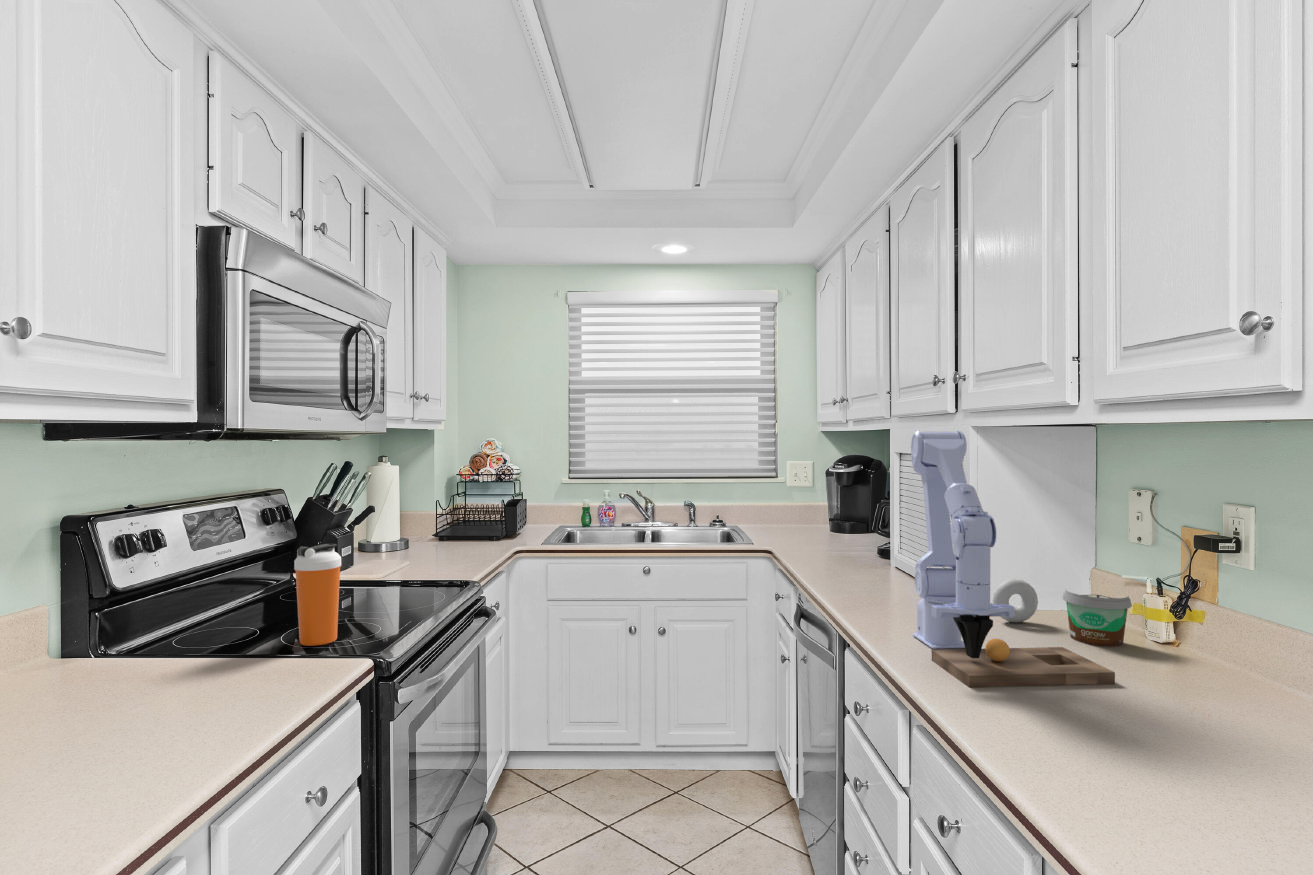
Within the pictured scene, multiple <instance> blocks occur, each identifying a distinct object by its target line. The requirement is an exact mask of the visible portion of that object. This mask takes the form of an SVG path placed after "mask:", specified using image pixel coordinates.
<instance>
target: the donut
mask: <svg viewBox="0 0 1313 875" xmlns="http://www.w3.org/2000/svg"><path fill="white" fill-rule="evenodd" d="M1014 595H1018V596H1019V597H1020V598H1021V601H1020V603H1019V605H1018V606H1017V607H1015V617H1007V616H999V617H1000V618H1001V619H1003V620H1005V622H1010V623H1015V624H1016V623H1017V624H1018V623H1023V622H1025V621H1027V620H1029V619H1031V617H1032V616H1034V615H1035V613H1036V611H1037V609H1038V605H1039V604H1038V603H1039V599H1038V594H1037V591H1036V589H1035V588H1034V587H1032V585H1031V584H1030V583H1028V582H1026V581H1024V580H1022V579H1016V578H1014V579H1013V578H1012V579H1007V580H1005V581H1003V582H1001V583H1000V584H999V585H998V586H997V587H996V589H995V591H994V592H993V597H992V604H1009V605H1010V598H1011V597H1012V596H1014Z"/></svg>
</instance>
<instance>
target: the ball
mask: <svg viewBox="0 0 1313 875" xmlns="http://www.w3.org/2000/svg"><path fill="white" fill-rule="evenodd" d="M984 647H985V648H984V649H985V650H986V653H987V655H988V657H989V658H991V659H992V660H994V661H1004V660H1006V659H1007V658H1008V657H1009V654H1010V649H1009V648H1010V647H1009V645H1008V643H1007V642H1005V641H1004V640H1002V639H1000V638H991V639H989V640H988V641H987V643H986V644H985V646H984Z"/></svg>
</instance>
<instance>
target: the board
mask: <svg viewBox="0 0 1313 875" xmlns="http://www.w3.org/2000/svg"><path fill="white" fill-rule="evenodd" d="M1009 649H1010V654H1009V657H1008V658H1007V659H1006V660H1004V661H994V660H992V659H991V658H989V657H988V655H987V653H986V650H985V648H982V649H981V652H980V656H979V658H971V657H969V656H968V655H966V649H965V648H946V649H931V661H932V662H934V663H935V664H936V665H938V666H939V667H940V668H942V669H943V670H944V671H946V672H948V673H949V674H950V675H951V676H953V677H954V678H956V679H957V680H958V681H960V682H961V683H963V684H964V685H966V686H967V687H968V688H990V687H991V688H992V687H993V688H995V687H998V688H999V687H1031V686H1032V687H1033V686H1034V687H1035V686H1036V687H1038V686H1041V687H1042V686H1043V687H1044V686H1076V685H1075V684H1087V685H1114V684H1116V682H1115V681H1116V672H1115V671H1114V670H1111V669H1109V668H1107V667H1105V666H1103V665H1101V664H1098V663H1097V662H1095V661H1092V660H1090V659H1088V658H1086V657H1083V656H1082V655H1080V654H1078V653H1075V652H1073V651H1071V650H1070V649H1068V648H1065V647H1063V646H1052V647H1051V646H1047V647H1046V646H1045V647H1044V646H1042V647H1041V646H1040V647H1009Z"/></svg>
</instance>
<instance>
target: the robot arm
mask: <svg viewBox="0 0 1313 875" xmlns="http://www.w3.org/2000/svg"><path fill="white" fill-rule="evenodd" d="M910 454H911V465H912V468H913V469H912V471H913V472H915V473H917V474H919V475H920V478H921V482H922V492H923V501H924V514H925V528H926V538H927V553H925V554H924V555H923V556H922V557H920V558H919V559H918V560H917V561H916V563H915V575H914V588H915V591H916V593H917V594H916V595H918V596H919V597H920V598H921V599H919V601H918V603H917V606H916V621H917V622H916V632H914V633H912V636H913V637H914V638H916V639H918V640H919V641H921V642H922V643H923V644H925V645H926V646H928V647H929V648H931V649H932V650H942V649H966V655H968V656H969V657H971V658H979V656H980V652H981V649H983V648H982V647H983V646H984V642H985V640H986V637H987V636H988V634H989V632H990V630H992V628H993V627H994V620H993V619H991V618H990V617H1000V616H1007V617H1015V608H1016V607H1015V606H1013V605H1011V604H1010V603H1009V604H993V602H992V603H991V548H993V547H994V546H995V544H996V542H997V526H996V522H995V520H994V518H993V516H992V515H990V514H989V513H988V511H984V509H983V507H982V504H981V500H980V497H979V495H978V492H977V490H976V489H975V487H974V486H973V485H971V484H969V483H967V477H966V474H965V470H964V466H963V462H964V458H965V456H966V454H967V438H966V436H965V434H964V433H963V432H962V430H955V431H953V430H952V431H950V430H949V431H945V430H944V431H942V430H941V431H929V430H928V431H921V430H916V431H915V432H914V433H913V434H912V437H911V444H910ZM943 567H944V568H943Z"/></svg>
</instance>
